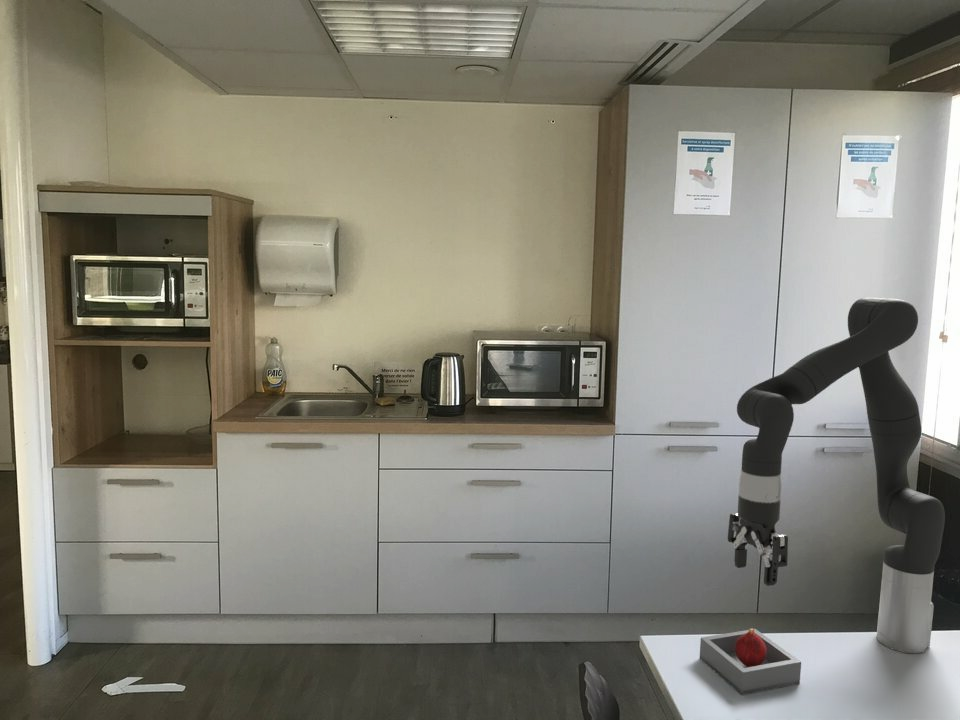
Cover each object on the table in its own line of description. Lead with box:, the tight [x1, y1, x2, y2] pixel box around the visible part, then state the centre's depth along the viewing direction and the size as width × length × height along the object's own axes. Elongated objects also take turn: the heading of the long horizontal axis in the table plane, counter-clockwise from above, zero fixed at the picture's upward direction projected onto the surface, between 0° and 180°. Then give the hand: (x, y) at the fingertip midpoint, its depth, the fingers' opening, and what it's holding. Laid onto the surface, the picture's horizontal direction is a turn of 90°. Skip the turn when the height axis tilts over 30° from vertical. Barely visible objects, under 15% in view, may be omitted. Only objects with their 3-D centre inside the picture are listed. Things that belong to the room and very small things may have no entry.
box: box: [699, 628, 802, 696], centre depth 141 cm, size 13×13×4 cm
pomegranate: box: [735, 627, 766, 667], centre depth 140 cm, size 6×6×8 cm
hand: (754, 575), depth 139 cm, fingers open, 8 cm apart
